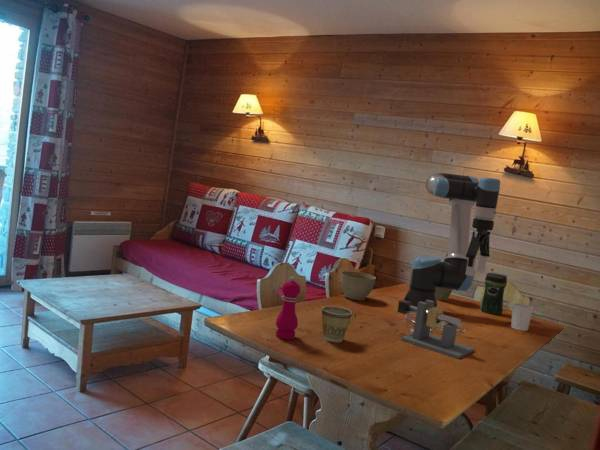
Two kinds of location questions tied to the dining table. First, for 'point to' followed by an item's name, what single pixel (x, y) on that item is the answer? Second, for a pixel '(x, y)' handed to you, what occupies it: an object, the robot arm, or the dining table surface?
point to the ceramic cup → (335, 322)
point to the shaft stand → (433, 342)
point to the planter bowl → (357, 284)
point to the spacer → (434, 317)
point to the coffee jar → (494, 293)
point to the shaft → (407, 308)
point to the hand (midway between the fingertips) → (475, 274)
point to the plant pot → (442, 293)
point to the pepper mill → (288, 310)
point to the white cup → (521, 316)
